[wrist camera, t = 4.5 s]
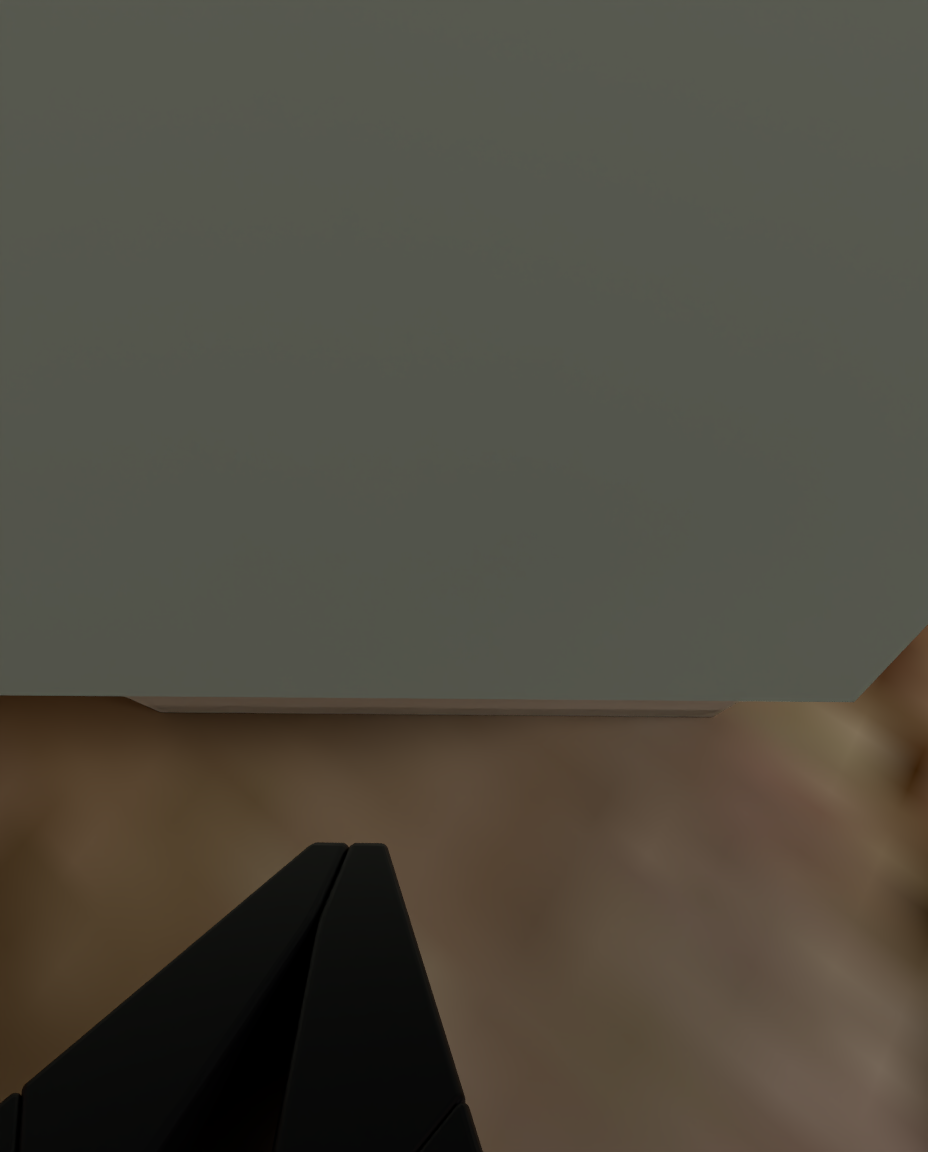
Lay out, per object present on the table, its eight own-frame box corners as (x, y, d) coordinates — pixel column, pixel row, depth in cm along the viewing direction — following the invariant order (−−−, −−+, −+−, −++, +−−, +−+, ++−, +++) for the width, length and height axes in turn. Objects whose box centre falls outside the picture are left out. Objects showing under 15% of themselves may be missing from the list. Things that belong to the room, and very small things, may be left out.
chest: (712, 716, 20) (825, 649, 13) (160, 712, 20) (8, 644, 14) (671, 373, 24) (740, 197, 18) (219, 375, 25) (126, 205, 18)
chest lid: (837, 654, 13) (853, 701, 13) (-4, 649, 14) (-27, 694, 13) (1893, -655, 3) (2201, -722, 3) (-1274, -518, 4) (-1605, -550, 3)
